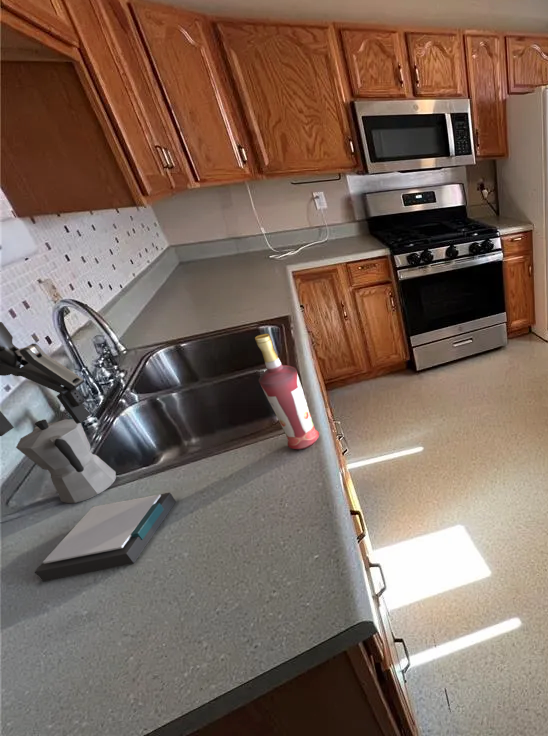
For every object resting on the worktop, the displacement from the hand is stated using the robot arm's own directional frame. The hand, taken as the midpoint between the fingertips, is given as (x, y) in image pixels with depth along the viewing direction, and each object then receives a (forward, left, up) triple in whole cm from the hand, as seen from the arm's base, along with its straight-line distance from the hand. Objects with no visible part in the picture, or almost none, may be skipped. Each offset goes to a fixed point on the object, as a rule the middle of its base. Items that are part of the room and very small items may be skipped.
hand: (45, 425), depth 81 cm
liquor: (+43, +3, -17) cm, 46 cm away
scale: (+14, -16, -17) cm, 27 cm away
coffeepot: (0, 0, -17) cm, 17 cm away
